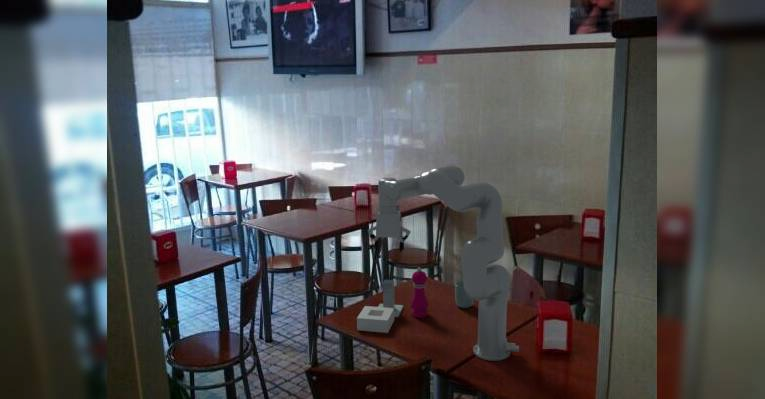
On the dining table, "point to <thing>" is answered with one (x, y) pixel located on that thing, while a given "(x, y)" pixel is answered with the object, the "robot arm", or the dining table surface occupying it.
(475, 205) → the robot arm
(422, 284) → the pepper mill
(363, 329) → the socket block
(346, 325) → the dining table surface
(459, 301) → the cup
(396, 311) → the white square plate
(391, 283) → the steel pin
